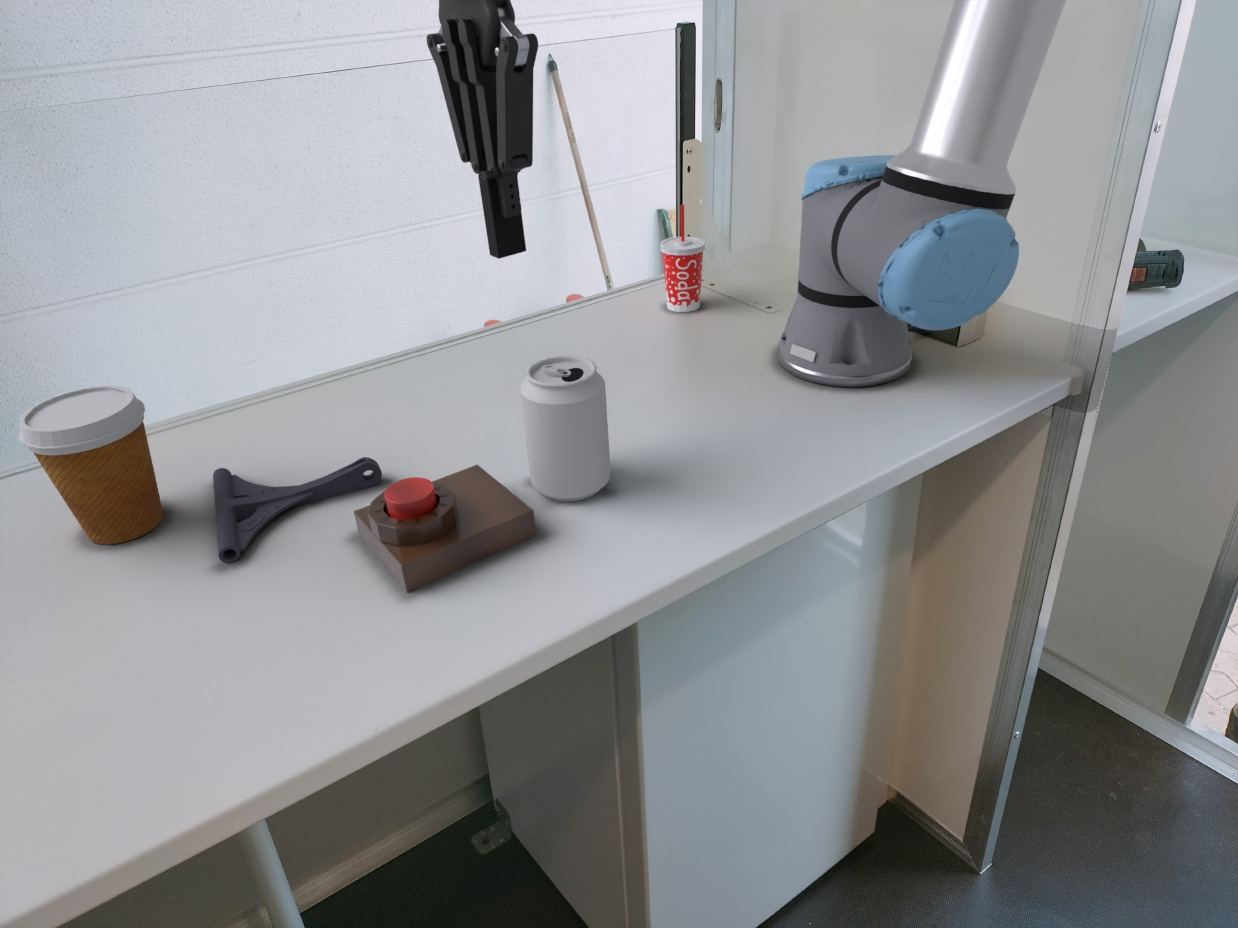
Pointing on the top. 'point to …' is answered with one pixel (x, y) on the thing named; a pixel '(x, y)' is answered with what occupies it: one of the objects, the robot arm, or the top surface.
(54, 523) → the top surface
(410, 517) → the button
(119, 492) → the disposable coffee cup
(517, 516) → the button box
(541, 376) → the can
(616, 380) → the top surface
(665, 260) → the beverage cup
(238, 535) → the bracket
